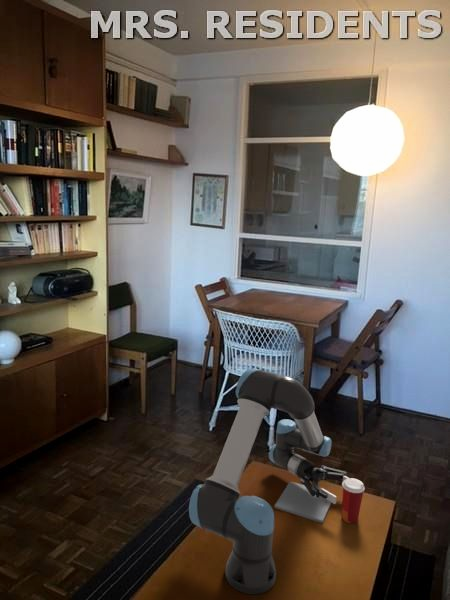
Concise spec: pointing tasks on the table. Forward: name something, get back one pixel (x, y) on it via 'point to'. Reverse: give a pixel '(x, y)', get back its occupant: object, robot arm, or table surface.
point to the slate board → (303, 503)
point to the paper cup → (351, 499)
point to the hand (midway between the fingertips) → (347, 493)
